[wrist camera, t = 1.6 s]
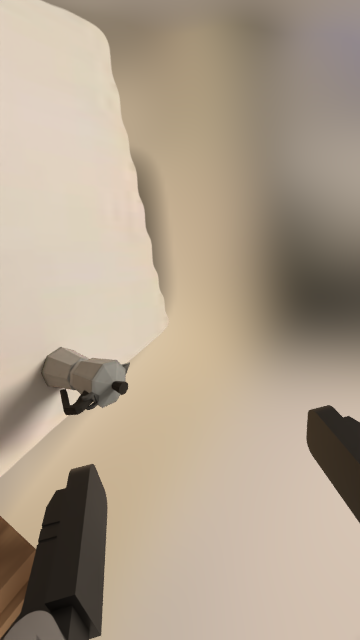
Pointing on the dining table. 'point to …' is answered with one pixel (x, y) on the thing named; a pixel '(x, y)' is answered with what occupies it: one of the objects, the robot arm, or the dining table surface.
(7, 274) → the dining table surface
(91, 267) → the dining table surface
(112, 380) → the coffee maker
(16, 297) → the dining table surface
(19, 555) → the stand
